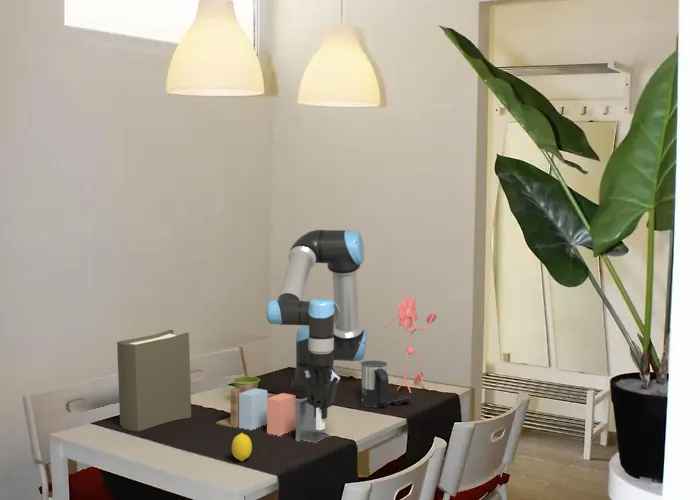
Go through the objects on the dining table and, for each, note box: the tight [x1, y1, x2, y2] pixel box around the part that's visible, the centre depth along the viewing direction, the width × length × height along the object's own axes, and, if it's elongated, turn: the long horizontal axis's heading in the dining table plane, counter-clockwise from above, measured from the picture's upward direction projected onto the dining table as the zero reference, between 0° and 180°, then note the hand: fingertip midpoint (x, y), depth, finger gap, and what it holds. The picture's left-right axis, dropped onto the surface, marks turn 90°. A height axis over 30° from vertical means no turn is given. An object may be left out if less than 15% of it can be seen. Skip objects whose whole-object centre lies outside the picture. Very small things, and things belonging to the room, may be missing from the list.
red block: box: [266, 392, 297, 437], centre depth 254 cm, size 8×5×11 cm, turn 149°
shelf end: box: [215, 383, 256, 429], centre depth 263 cm, size 10×8×12 cm
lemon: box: [231, 432, 253, 462], centre depth 227 cm, size 6×6×8 cm
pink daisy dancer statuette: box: [384, 296, 438, 394], centre depth 309 cm, size 15×26×35 cm, turn 139°
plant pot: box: [232, 376, 261, 389], centre depth 285 cm, size 9×9×9 cm
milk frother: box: [360, 360, 411, 408], centre depth 287 cm, size 14×16×15 cm
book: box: [116, 329, 192, 432], centre depth 262 cm, size 22×9×28 cm, turn 140°
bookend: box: [295, 396, 331, 444], centre depth 248 cm, size 10×6×12 cm, turn 149°
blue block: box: [238, 387, 268, 431], centre depth 260 cm, size 8×5×11 cm, turn 148°
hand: (320, 428), depth 247 cm, fingers closed
